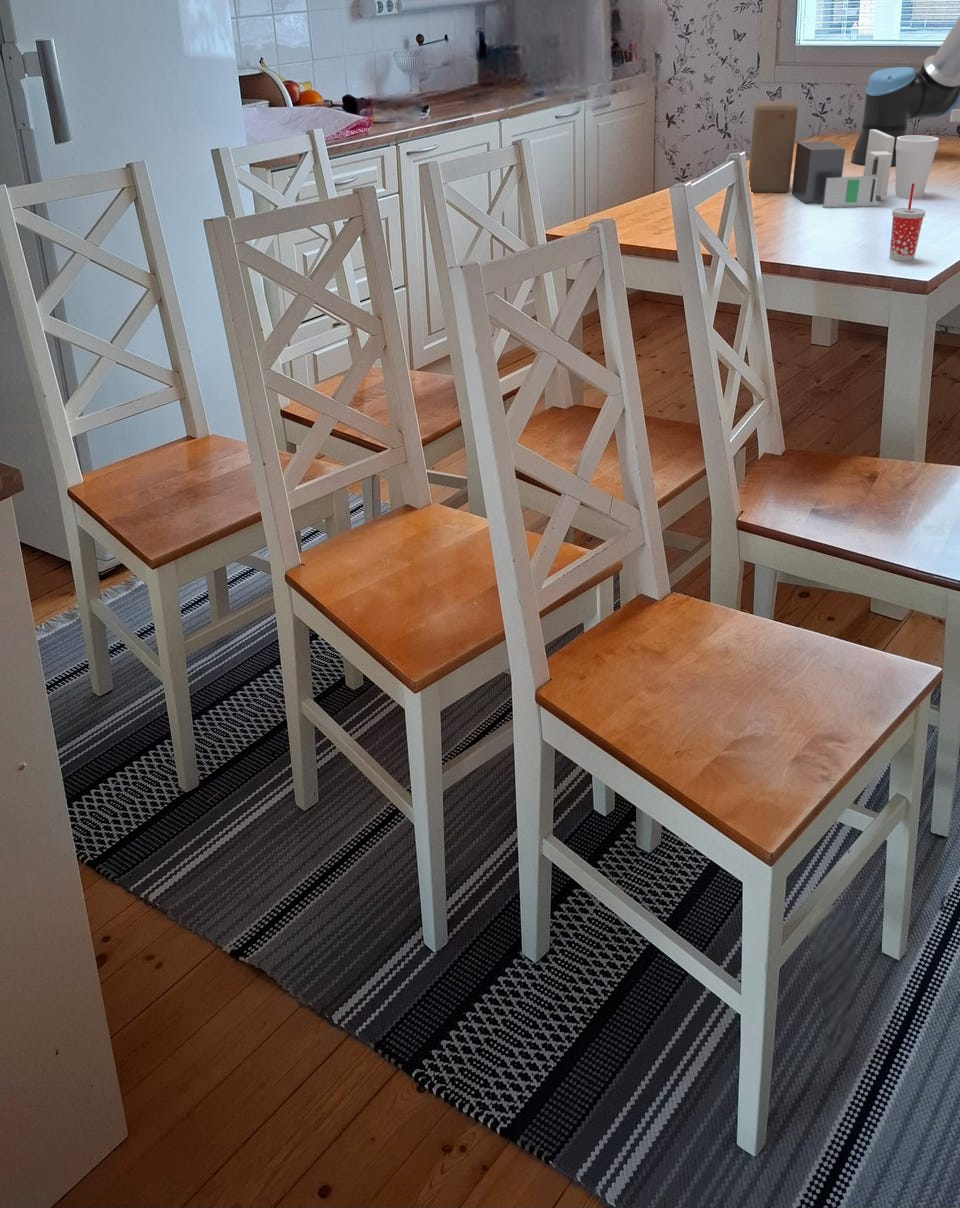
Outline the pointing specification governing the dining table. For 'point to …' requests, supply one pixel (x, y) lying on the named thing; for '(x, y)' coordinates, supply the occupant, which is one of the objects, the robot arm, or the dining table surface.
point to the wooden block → (772, 146)
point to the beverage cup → (905, 231)
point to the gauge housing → (829, 178)
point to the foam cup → (913, 163)
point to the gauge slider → (879, 158)
